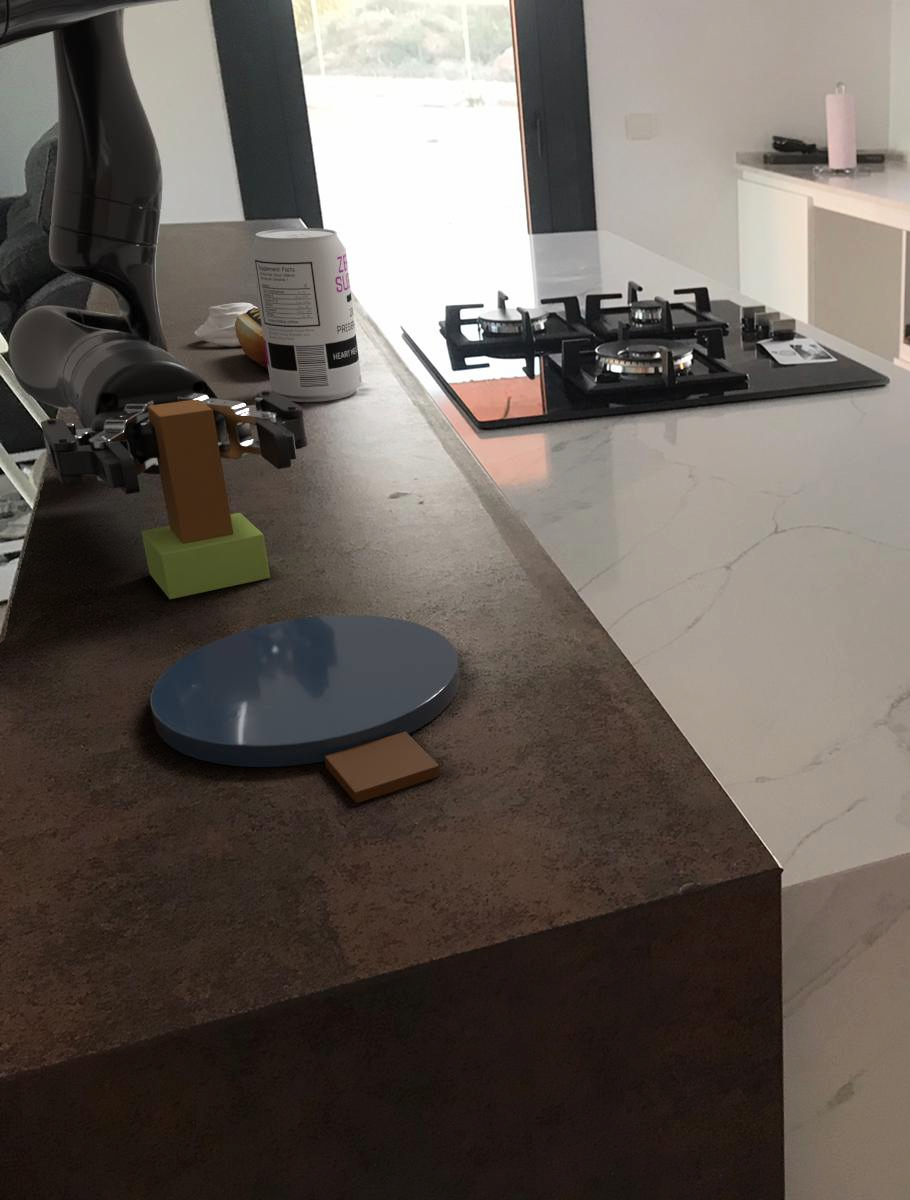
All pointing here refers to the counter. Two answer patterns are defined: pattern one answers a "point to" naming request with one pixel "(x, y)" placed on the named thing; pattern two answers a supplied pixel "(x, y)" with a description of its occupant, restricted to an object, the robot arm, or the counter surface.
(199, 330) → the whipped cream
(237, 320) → the golden brown half oval
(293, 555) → the counter surface
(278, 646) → the plate
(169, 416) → the sponge brush
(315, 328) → the supplement can
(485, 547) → the counter surface
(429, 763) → the food crust
